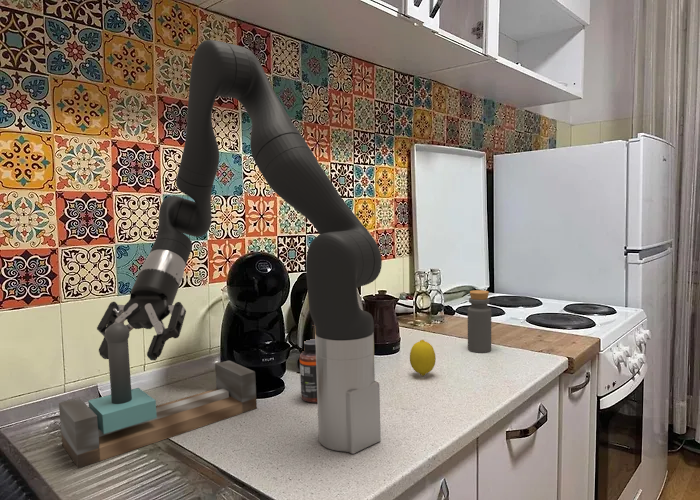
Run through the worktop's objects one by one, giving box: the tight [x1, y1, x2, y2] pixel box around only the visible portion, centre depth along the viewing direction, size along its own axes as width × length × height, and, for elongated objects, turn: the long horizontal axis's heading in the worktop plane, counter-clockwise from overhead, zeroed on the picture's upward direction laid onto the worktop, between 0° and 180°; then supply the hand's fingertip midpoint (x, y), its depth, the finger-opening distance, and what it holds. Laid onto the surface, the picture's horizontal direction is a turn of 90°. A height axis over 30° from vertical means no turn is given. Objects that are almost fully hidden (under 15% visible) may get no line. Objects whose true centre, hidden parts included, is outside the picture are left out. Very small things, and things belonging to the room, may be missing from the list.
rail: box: [58, 360, 258, 469], centre depth 85 cm, size 30×10×7 cm, turn 132°
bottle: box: [467, 289, 492, 354], centre depth 124 cm, size 6×6×15 cm
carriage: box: [87, 323, 157, 434], centre depth 79 cm, size 8×8×16 cm
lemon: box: [409, 339, 437, 377], centre depth 106 cm, size 6×6×8 cm
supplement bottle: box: [299, 339, 317, 404], centre depth 95 cm, size 6×6×11 cm
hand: (127, 357), depth 81 cm, fingers open, 8 cm apart
